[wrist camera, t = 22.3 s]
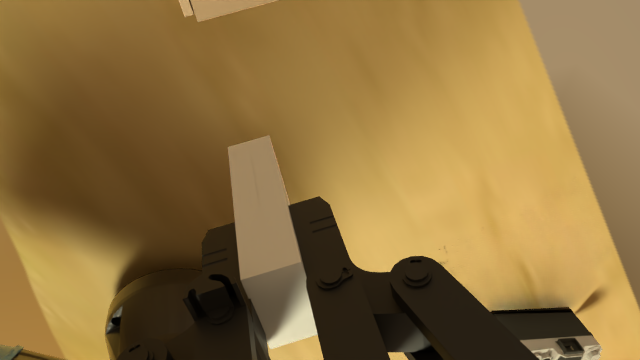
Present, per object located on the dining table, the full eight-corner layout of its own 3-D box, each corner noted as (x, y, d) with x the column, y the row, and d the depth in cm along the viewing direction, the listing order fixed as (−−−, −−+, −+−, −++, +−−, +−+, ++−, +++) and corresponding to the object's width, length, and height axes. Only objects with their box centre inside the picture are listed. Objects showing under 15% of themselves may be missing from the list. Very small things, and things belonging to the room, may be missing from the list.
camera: (466, 346, 75) (499, 405, 67) (484, 306, 71) (522, 364, 63) (553, 340, 79) (594, 395, 71) (576, 302, 75) (622, 356, 67)
